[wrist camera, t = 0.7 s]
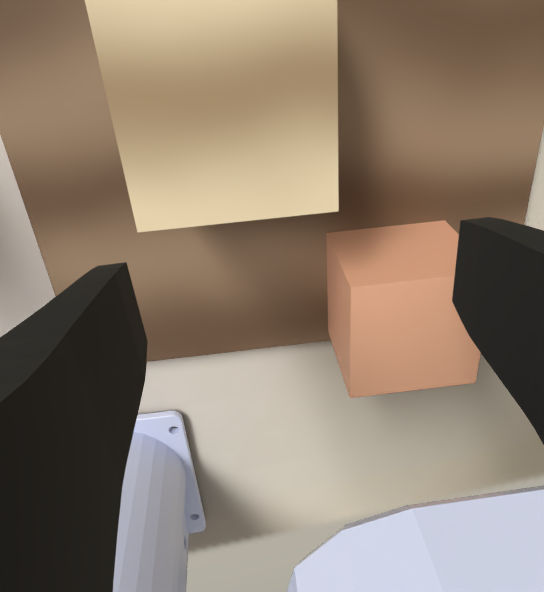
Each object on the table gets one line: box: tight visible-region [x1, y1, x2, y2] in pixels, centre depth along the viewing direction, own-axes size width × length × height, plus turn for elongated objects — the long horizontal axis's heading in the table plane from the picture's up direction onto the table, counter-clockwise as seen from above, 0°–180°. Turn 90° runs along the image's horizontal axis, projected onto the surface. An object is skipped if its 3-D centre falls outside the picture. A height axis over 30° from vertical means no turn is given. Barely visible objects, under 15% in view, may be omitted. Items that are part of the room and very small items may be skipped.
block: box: [326, 220, 481, 398], centre depth 21 cm, size 5×5×4 cm
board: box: [0, 0, 544, 362], centre depth 20 cm, size 15×20×1 cm
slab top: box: [85, 0, 339, 232], centre depth 15 cm, size 6×6×2 cm
